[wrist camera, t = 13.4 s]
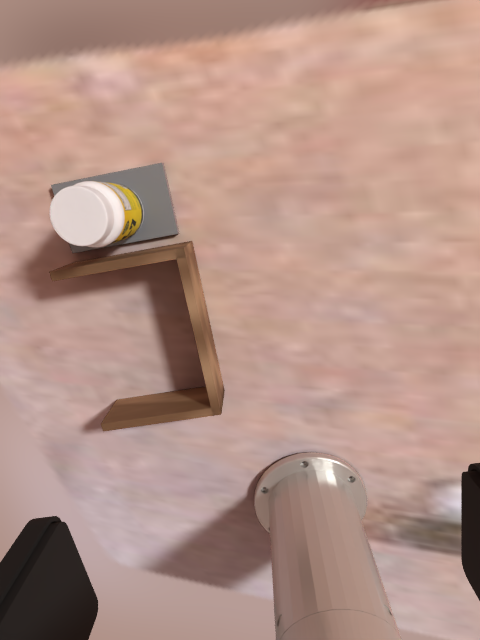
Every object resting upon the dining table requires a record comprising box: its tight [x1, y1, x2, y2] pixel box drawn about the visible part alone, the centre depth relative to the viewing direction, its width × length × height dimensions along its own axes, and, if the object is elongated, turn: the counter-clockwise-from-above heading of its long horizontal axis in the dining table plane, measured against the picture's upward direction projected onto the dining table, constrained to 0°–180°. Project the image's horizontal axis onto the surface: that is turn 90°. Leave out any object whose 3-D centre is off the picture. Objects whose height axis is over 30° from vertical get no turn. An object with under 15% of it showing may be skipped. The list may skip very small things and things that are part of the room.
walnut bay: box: [49, 241, 224, 431], centre depth 36 cm, size 16×12×4 cm
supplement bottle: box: [50, 181, 144, 247], centre depth 30 cm, size 5×5×8 cm
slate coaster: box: [51, 163, 179, 253], centre depth 34 cm, size 6×10×1 cm, turn 100°
